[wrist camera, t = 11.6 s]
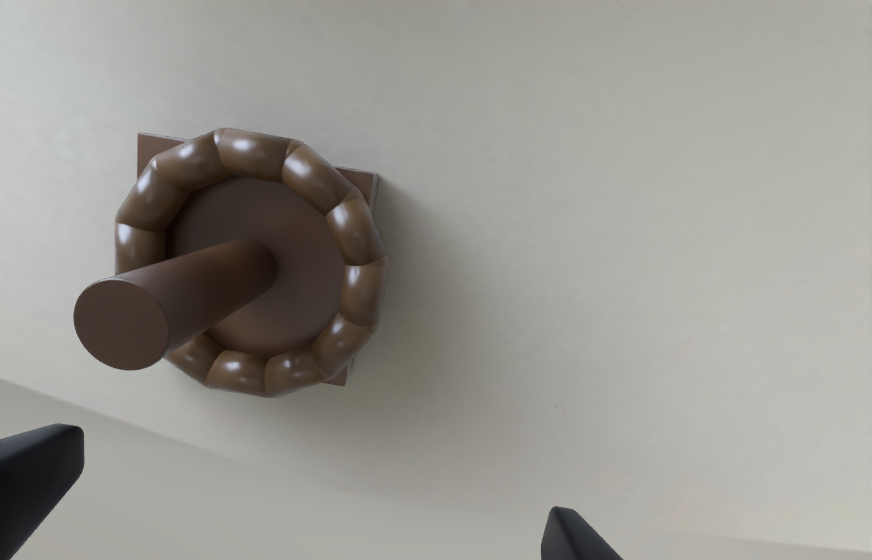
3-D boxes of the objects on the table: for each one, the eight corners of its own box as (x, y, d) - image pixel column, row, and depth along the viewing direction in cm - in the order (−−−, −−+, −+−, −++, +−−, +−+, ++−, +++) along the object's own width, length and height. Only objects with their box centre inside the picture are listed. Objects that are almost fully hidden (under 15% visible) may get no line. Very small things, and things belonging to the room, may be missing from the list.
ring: (369, 401, 19) (362, 421, 17) (133, 362, 19) (105, 379, 17) (405, 159, 16) (401, 157, 15) (135, 111, 16) (102, 105, 15)
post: (351, 371, 20) (286, 508, 12) (157, 338, 20) (-47, 454, 12) (379, 173, 18) (322, 172, 10) (162, 135, 18) (-83, 100, 10)
